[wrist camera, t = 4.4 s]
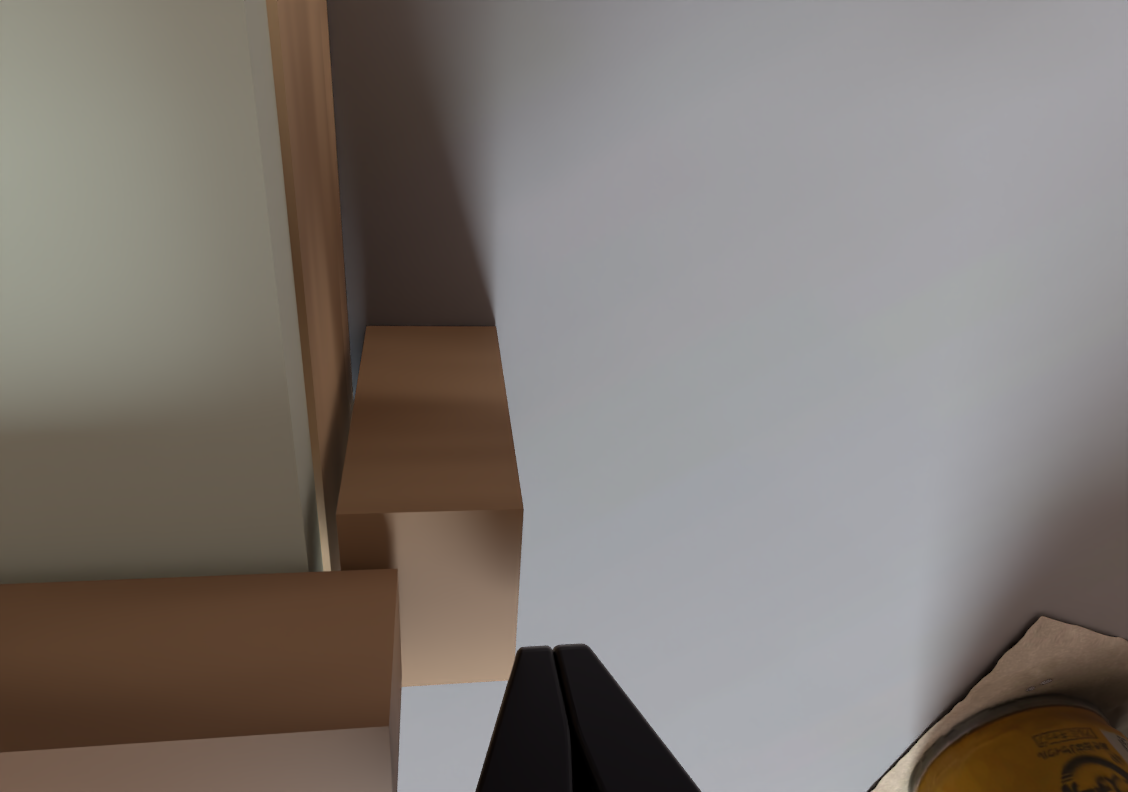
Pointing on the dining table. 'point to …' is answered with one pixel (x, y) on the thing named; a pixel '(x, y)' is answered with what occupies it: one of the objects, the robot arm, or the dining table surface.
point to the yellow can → (1032, 722)
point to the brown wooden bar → (202, 684)
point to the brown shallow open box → (396, 412)
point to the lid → (147, 298)
